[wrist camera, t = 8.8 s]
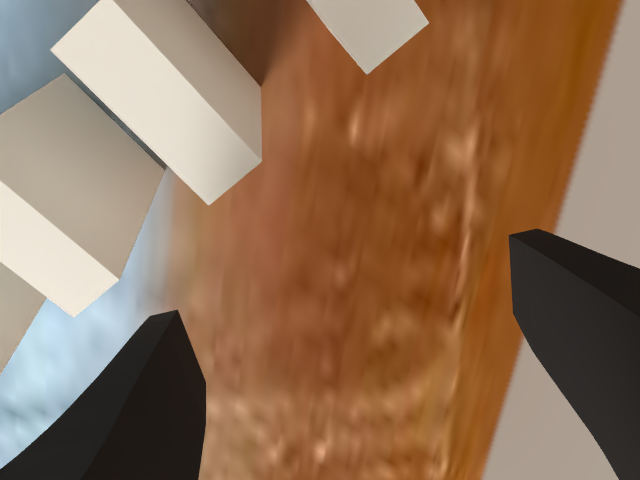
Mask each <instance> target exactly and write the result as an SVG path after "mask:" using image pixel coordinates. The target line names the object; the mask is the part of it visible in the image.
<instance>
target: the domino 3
mask: <svg viewBox="0 0 640 480" xmlns="http://www.w3.org/2000/svg"><path fill="white" fill-rule="evenodd" d="M164 171H165V170H164V169H163V168H162V167H161V166H160V165H159V164H158V163H157V162H156V161H155V160H154V159H152V158H151V157H150V156H149V155H148V154H147V153H146V152H145V151H144V150H143V149H142V148H141V147H140V146H139V145H138V144H137V143H136V142H135V141H134V140H133V139H132V138H131V137H130V136H129V135H128V134H127V133H126V132H125V131H124V130H123V129H122V128H121V127H120V126H119V125H118V124H117V123H115V122H114V121H113V120H112V119H111V118H110V117H109V116H108V115H107V114H106V113H105V112H104V111H103V110H102V109H101V108H100V107H99V106H98V105H97V104H96V103H95V102H94V101H93V100H92V99H91V98H90V97H89V96H88V95H87V94H86V93H85V92H84V91H83V90H82V89H81V88H79V87H78V86H77V85H76V84H75V83H74V82H73V81H72V80H71V79H70V78H69V77H68V76H67V75H66V74H65V73H63V74H61V75H60V76H58V77H57V78H55V79H54V80H52V81H51V82H49V83H48V84H46V85H45V86H43V87H42V88H40V89H38V90H37V91H35V92H34V93H32V94H31V95H29V96H28V97H26V98H25V99H23V100H22V101H20V102H19V103H17V104H16V105H14V106H12V107H11V108H9V109H8V110H6V111H5V112H3V113H2V114H0V262H1V263H3V264H4V265H5V266H7V267H8V268H9V269H11V270H12V271H13V272H14V273H16V274H17V275H18V276H20V277H21V278H22V279H24V280H25V281H26V282H28V283H29V284H30V285H31V286H33V287H34V288H35V289H37V290H38V291H39V292H41V293H42V294H43V295H45V296H46V297H47V298H48V299H50V300H51V301H52V302H54V303H55V304H56V305H58V306H59V307H60V308H62V309H63V310H64V311H65V312H67V313H68V314H69V315H71V316H72V317H73V318H74V317H75V316H76V315H78V314H79V313H80V312H81V311H82V310H84V309H85V308H86V307H87V306H88V305H90V304H91V303H92V302H93V301H94V300H96V299H97V298H98V297H99V296H100V295H102V294H103V293H104V292H105V291H107V290H108V289H109V288H110V287H111V286H113V285H114V284H115V283H116V282H117V281H119V280H120V277H121V275H122V273H123V270H124V268H125V265H126V263H127V261H128V258H129V256H130V253H131V251H132V249H133V246H134V244H135V241H136V239H137V236H138V234H139V232H140V229H141V227H142V224H143V222H144V220H145V217H146V215H147V212H148V210H149V208H150V205H151V203H152V200H153V198H154V195H155V193H156V191H157V188H158V186H159V183H160V181H161V179H162V176H163V174H164Z"/></svg>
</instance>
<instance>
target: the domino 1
mask: <svg viewBox="0 0 640 480" xmlns="http://www.w3.org/2000/svg"><path fill="white" fill-rule="evenodd" d="M46 298H47V297H46V296H45V295H43V294H42V293H41V292H39V291H38V290H37V289H35V288H34V287H33V286H31V285H30V284H29V283H28V282H26V281H25V280H24V279H22V278H21V277H20V276H18V275H17V274H16V273H14V272H13V271H12V270H11V269H9V268H8V267H7V266H5V265H4V264H3V263H1V262H0V375H1V373H2V371H3V370H4V368H5V366H6V365H7V363H8V361H9V360H10V358H11V356H12V355H13V353H14V351H15V350H16V348H17V346H18V345H19V343H20V341H21V340H22V338H23V336H24V335H25V333H26V331H27V330H28V328H29V326H30V325H31V323H32V321H33V320H34V318H35V316H36V315H37V313H38V311H39V310H40V308H41V306H42V305H43V303H44V301H45V300H46Z"/></svg>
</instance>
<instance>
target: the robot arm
mask: <svg viewBox="0 0 640 480" xmlns="http://www.w3.org/2000/svg"><path fill="white" fill-rule="evenodd" d="M509 247H510V266H511V284H512V302H513V314H514V316H515V318H516V320H517V322H518V324H519V326H520V328H521V330H522V332H523V334H524V336H525V338H526V340H527V342H528V343H529V345H530V347H531V349H532V351H533V352H534V354H535V355H536V357H537V358H538V359H539V361H540V362H541V364H542V365H543V367H544V368H545V370H546V371H547V372H548V374H549V375H550V377H551V378H552V379H553V381H554V382H555V383H556V385H557V386H558V388H559V389H560V391H561V392H562V393H563V395H564V396H565V398H566V399H567V400H568V402H569V403H570V404H571V406H572V407H573V409H574V410H575V411H576V413H577V414H578V415H579V417H580V418H581V420H582V421H583V423H584V424H585V425H586V427H587V428H588V430H589V431H590V432H591V434H592V435H593V436H594V439H595V440H596V442H597V443H598V445H599V446H600V448H601V449H602V451H603V452H604V454H605V456H606V458H607V459H608V461H609V463H610V464H611V466H612V468H613V470H614V472H615V473H616V475H617V477H618V478H619V480H640V269H639V268H637V267H634V266H631V265H628V264H626V263H623V262H620V261H618V260H615V259H613V258H610V257H607V256H605V255H603V254H600V253H597V252H595V251H593V250H590V249H588V248H586V247H583V246H581V245H578V244H576V243H573V242H571V241H569V240H566V239H564V238H561V237H559V236H556V235H554V234H551V233H549V232H546V231H543V230H540V229H534V230H529V231H525V232H520V233H516V234H511V235H509ZM205 426H206V381H205V379H204V376H203V374H202V371H201V369H200V366H199V363H198V361H197V358H196V356H195V353H194V350H193V348H192V345H191V343H190V340H189V338H188V335H187V332H186V330H185V327H184V325H183V322H182V319H181V317H180V314H179V312H178V310H174V311H170V312H166V313H161V314H157V315H152V316H150V317H149V318H148V319H147V320H146V321H145V322H144V323H143V324H142V325H141V326H140V327H139V329H138V330H137V331H136V332H135V333H134V334H133V336H132V337H131V338H130V339H129V340H128V342H127V343H126V344H125V345H124V346H123V348H122V349H121V350H120V351H119V352H118V354H117V355H116V356H115V357H114V358H113V359H112V361H111V362H110V363H109V364H108V365H107V366H106V368H105V369H104V370H103V371H102V372H101V373H100V375H99V376H98V377H97V378H96V379H95V380H94V381H93V382H92V383H91V385H90V386H89V387H88V388H87V389H86V390H85V391H84V392H83V393H82V394H81V395H80V396H79V397H78V398H77V400H76V401H75V402H74V403H73V404H72V405H71V406H70V407H69V408H68V409H67V410H66V411H65V412H64V413H63V414H62V415H61V416H60V417H59V418H58V419H57V420H56V421H55V422H54V423H53V424H52V425H51V426H50V427H49V428H48V429H47V430H46V431H45V432H44V433H42V434H41V435H40V436H39V437H38V438H37V439H36V440H35V441H34V442H32V443H31V444H30V445H29V446H28V447H27V448H26V449H25V450H24V451H22V452H21V453H20V454H19V455H18V456H16V457H15V458H14V459H13V460H12V461H10V462H9V463H8V464H6V465H5V466H4V467H3V468H1V469H0V480H198V477H199V470H200V463H201V456H202V449H203V442H204V434H205Z"/></svg>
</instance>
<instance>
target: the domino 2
mask: <svg viewBox="0 0 640 480" xmlns="http://www.w3.org/2000/svg"><path fill="white" fill-rule="evenodd" d="M50 50H51V51H52V52H53V53H54V54H55V55H56V56H57V57H58V58H59V59H60V60H61V61H62V62H63V63H64V64H65V65H66V66H67V67H68V68H69V69H70V70H71V71H72V72H73V73H74V74H75V75H76V76H77V77H78V78H79V79H80V80H81V81H82V82H83V83H84V84H85V85H86V86H87V87H88V88H89V89H90V90H91V91H92V92H93V93H94V94H95V95H96V96H97V97H98V98H100V99H101V100H102V101H103V102H104V103H105V104H106V105H107V106H108V107H109V108H110V109H111V110H112V111H113V112H114V113H115V114H116V115H117V116H118V117H119V118H120V119H121V120H122V121H123V122H124V123H125V124H126V125H127V126H128V127H129V128H130V129H131V130H132V131H133V132H134V133H135V134H136V135H137V136H138V137H139V138H140V139H141V140H142V141H143V142H144V143H145V144H146V145H147V146H148V147H149V148H150V149H152V150H153V151H154V152H155V153H156V154H157V155H158V156H159V157H160V158H161V159H162V160H163V161H164V162H165V163H166V164H167V165H168V166H169V167H170V168H171V169H172V170H173V171H174V172H175V173H176V174H177V175H178V176H179V177H180V178H181V179H182V180H183V181H184V182H185V183H186V184H187V185H188V186H189V187H190V188H191V189H192V190H193V191H194V192H195V193H196V194H197V195H198V196H199V197H200V198H201V199H202V200H203V201H205V202H206V203H207V204H208V205H210V204H211V203H212V202H214V201H215V200H216V199H217V198H218V197H220V196H221V195H222V194H223V193H224V192H226V191H227V190H228V189H229V188H231V187H232V186H233V185H234V184H235V183H237V182H238V181H239V180H240V179H241V178H243V177H244V176H245V175H246V174H247V173H249V172H250V171H251V170H252V169H253V168H255V167H256V166H257V165H258V164H259V163H261V162H262V133H261V87H260V86H259V85H258V84H257V82H256V81H255V80H254V79H253V78H252V77H251V75H250V74H249V73H248V72H247V71H246V70H245V68H244V67H243V66H242V65H241V64H240V63H239V61H238V60H237V59H236V58H235V57H234V56H233V55H232V53H231V52H230V51H229V50H228V49H227V48H226V46H225V45H224V44H223V43H222V42H221V41H220V39H219V38H218V37H217V36H216V35H215V34H214V32H213V31H212V30H211V29H210V28H209V27H208V26H207V24H206V23H205V22H204V21H203V20H202V19H201V17H200V16H199V15H198V14H197V13H196V12H195V10H194V9H193V8H192V7H191V6H190V5H189V3H188V2H187V1H186V0H100V1H99V2H98V3H97V4H96V5H95V6H94V7H93V8H92V9H91V10H90V11H89V12H88V13H87V14H86V15H85V16H84V17H83V18H82V19H81V20H80V21H79V22H78V23H77V24H76V25H75V26H73V27H72V28H71V29H70V30H69V31H68V32H67V33H66V34H65V35H64V36H63V37H62V38H61V39H60V40H59V41H58V42H57V43H56V44H55V45H54V46H53V47H52V48H51V49H50Z"/></svg>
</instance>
